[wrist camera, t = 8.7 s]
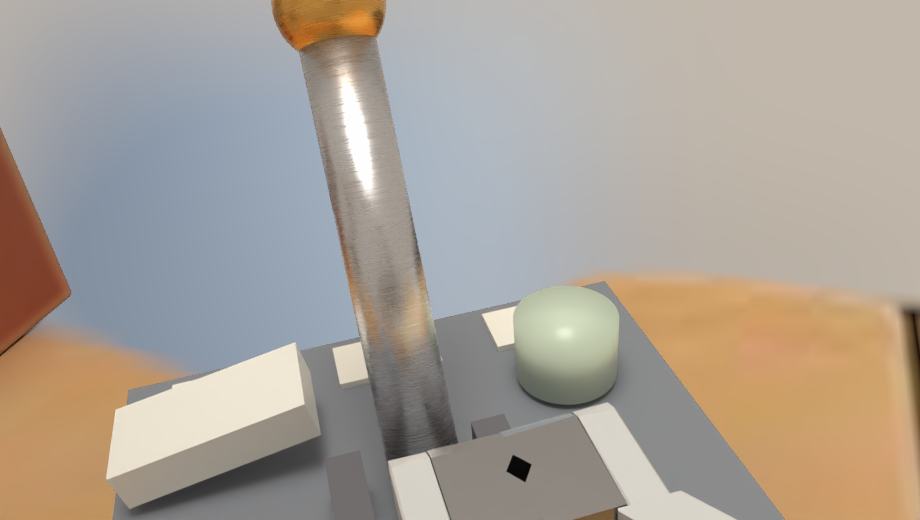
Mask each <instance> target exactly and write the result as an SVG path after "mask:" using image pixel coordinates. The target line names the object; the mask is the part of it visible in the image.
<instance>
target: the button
mask: <svg viewBox="0 0 920 520" xmlns="http://www.w3.org/2000/svg"><path fill="white" fill-rule="evenodd" d="M513 327H514V346H515V364H516V375H517V379H518V381H519V383H520V384H521V386H522V387H523V388H524V389H525V390H526V391H527V392H528V393H529V394H531V395H532V396H534V397H536V398H538V399H540V400H543V401H546V402H549V403H554V404H561V405H574V404H581V403H586V402H589V401H592V400H595V399H597V398H599V397H601V396H602V395H604V394H605V393H606V392H608V390H609V389H610V388H611V387H612V386H613V384H614V383H615V380H616V377H617V364H618V339H619V313H618V310H617V308H616V306H615V305H614V304H613V303H612V301H611V300H609V299H608V298H607V297H605V296H604V295H602V294H600V293H598V292H596V291H594V290H591V289H587V288H583V287H578V286H554V287H549V288H544V289H541V290H538V291H535V292H533V293H531V294H529V295H528V296H526V297H525V298H524V299H522V300H521V301H520V302H519V304H518V305H517V306H516V308H515V310H514V314H513Z"/></svg>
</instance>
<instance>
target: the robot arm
mask: <svg viewBox="0 0 920 520" xmlns="http://www.w3.org/2000/svg"><path fill="white" fill-rule="evenodd" d="M388 469H389V474H390V479H391V484H392V489H393V495H394V500H395V505H396V510H397V515H398V520H737V519H735V518H733V517H731V516H729V515H727V514H725V513H723V512H721V511H720V510H718V509H716V508H714V507H712V506H710V505H708V504H706V503H704V502H702V501H700V500H699V499H697V498H695V497H693V496H691V495H689V494H687V493H685V492H683V491H681V490H680V491H677V492H673V493H670V492H669V491H668V489H667V488H666V486H665V484H664V483H663V481H662V480H661V478H660V477H659V475H658V474H657V472H656V471H655V469H654V468H653V466H652V464H651V463H650V461H649V460H648V458H647V457H646V455H645V454H644V452H643V451H642V449H641V448H640V446H639V444H638V443H637V441H636V440H635V438H634V437H633V435H632V434H631V432H630V431H629V429H628V428H627V426H626V424H625V423H624V421H623V420H622V418H621V417H620V415H619V414H618V412H617V411H616V409H615V408H614V406H612V405H611V404H609V403H608V402H607V403H603V404H600V405H596V406H592V407H589V408H585V409H581V410H578V411H574V412H572V413H571V414H570V413H566V414H563V415H559V416H555V417H552V418H548V419H545V420H541V421H538V422H534V423H531V424H527V425H523V426H520V427H516V428H513V429H509V430H506V431H502V432H499V433H498V434H494V435H490V436H486V437H482V438H477V439H473V440H469V441H465V442H461V443H457V444H453V445H449V446H444V447H440V448H436V449H432V450H428V451H427V453H426V452H423V453H419V454H414V455H410V456H406V457H402V458H398V459H394V460H390V461H388Z"/></svg>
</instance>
